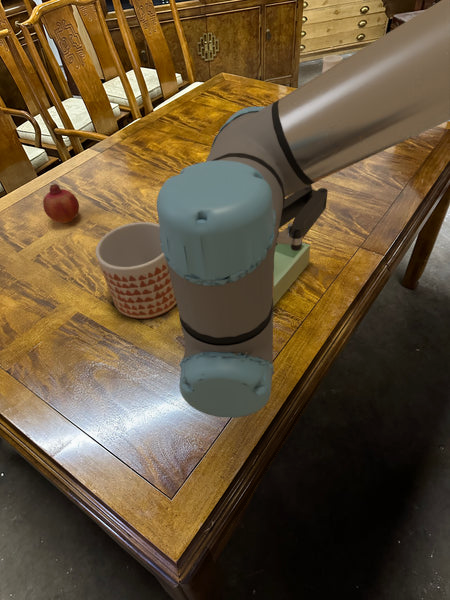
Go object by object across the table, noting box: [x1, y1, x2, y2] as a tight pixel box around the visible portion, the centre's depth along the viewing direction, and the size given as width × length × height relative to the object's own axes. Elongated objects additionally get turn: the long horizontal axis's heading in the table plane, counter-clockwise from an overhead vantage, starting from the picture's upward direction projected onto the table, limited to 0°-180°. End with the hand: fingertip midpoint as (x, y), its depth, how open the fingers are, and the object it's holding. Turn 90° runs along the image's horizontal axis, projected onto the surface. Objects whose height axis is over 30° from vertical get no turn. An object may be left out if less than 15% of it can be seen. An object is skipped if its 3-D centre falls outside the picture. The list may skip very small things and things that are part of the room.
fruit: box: [42, 183, 80, 224], centre depth 100 cm, size 8×8×10 cm
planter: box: [95, 221, 177, 320], centre depth 78 cm, size 14×14×13 cm
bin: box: [273, 241, 311, 308], centre depth 83 cm, size 16×16×5 cm
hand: (248, 169), depth 58 cm, fingers open, 13 cm apart
